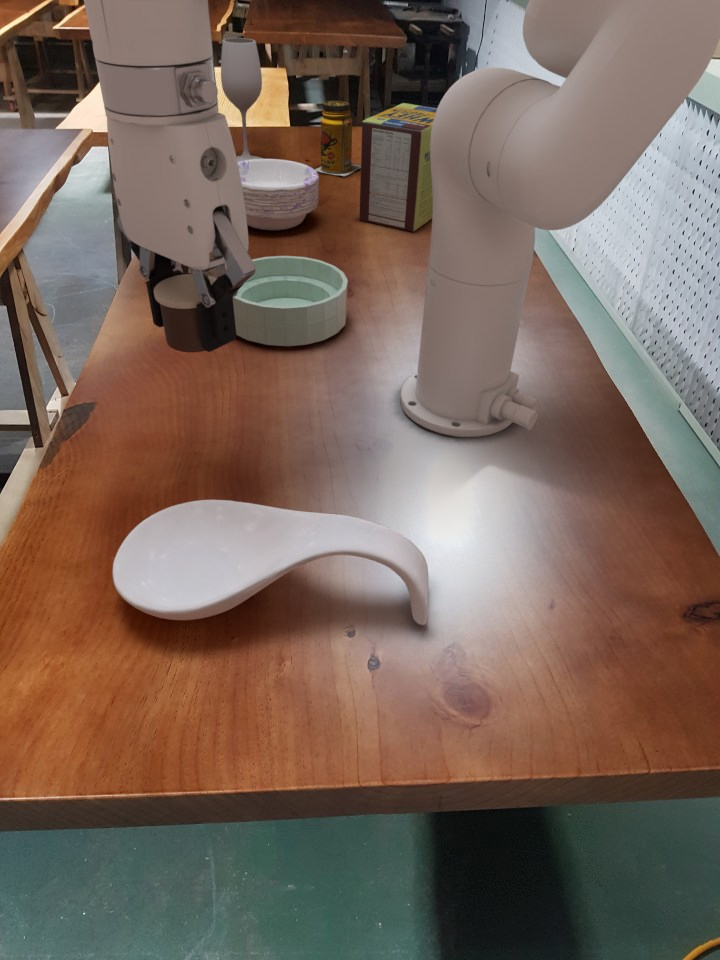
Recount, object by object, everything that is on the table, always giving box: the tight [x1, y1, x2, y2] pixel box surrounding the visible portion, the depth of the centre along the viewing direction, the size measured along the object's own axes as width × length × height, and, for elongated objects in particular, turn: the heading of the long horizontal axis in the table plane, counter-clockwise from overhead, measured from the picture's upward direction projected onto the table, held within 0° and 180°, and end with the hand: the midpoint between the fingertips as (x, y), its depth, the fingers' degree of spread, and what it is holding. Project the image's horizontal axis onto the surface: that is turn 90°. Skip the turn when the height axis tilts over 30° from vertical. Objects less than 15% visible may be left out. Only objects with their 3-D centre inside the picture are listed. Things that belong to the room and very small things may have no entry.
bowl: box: [233, 255, 349, 347], centre depth 89 cm, size 15×15×6 cm
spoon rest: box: [112, 499, 430, 626], centre depth 53 cm, size 24×12×7 cm, turn 86°
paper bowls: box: [238, 158, 320, 231], centre depth 115 cm, size 15×15×8 cm
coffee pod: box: [154, 274, 216, 353], centre depth 58 cm, size 5×5×4 cm
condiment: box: [314, 100, 361, 177], centre depth 138 cm, size 7×8×12 cm
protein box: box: [358, 102, 438, 233], centre depth 118 cm, size 10×15×16 cm
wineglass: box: [220, 37, 264, 162], centre depth 137 cm, size 8×8×21 cm
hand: (194, 330), depth 59 cm, fingers closed on coffee pod, 5 cm apart
